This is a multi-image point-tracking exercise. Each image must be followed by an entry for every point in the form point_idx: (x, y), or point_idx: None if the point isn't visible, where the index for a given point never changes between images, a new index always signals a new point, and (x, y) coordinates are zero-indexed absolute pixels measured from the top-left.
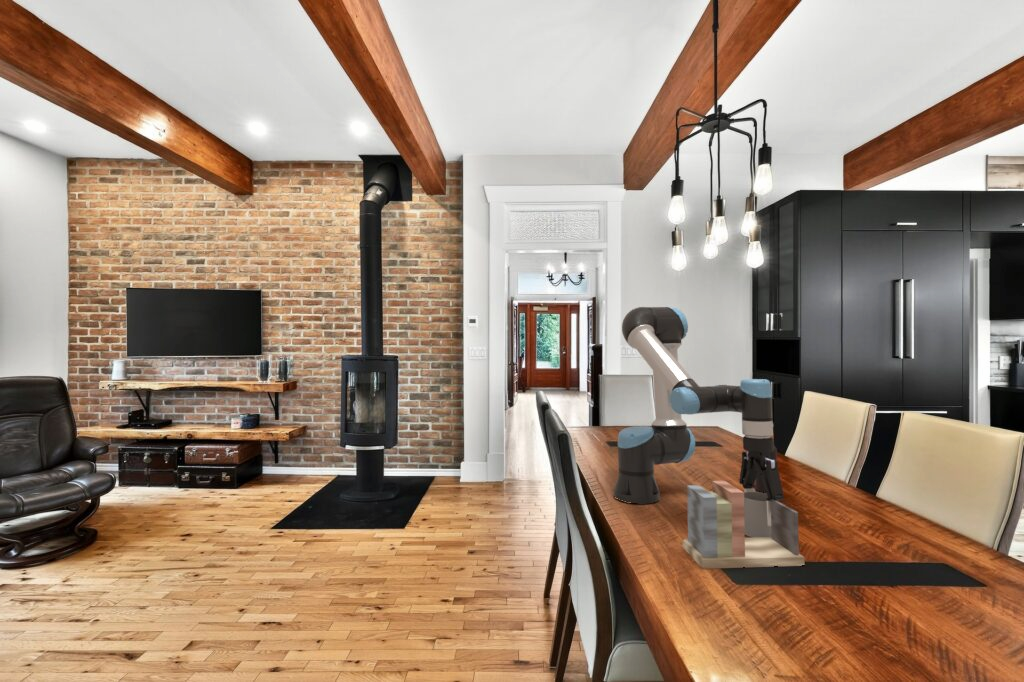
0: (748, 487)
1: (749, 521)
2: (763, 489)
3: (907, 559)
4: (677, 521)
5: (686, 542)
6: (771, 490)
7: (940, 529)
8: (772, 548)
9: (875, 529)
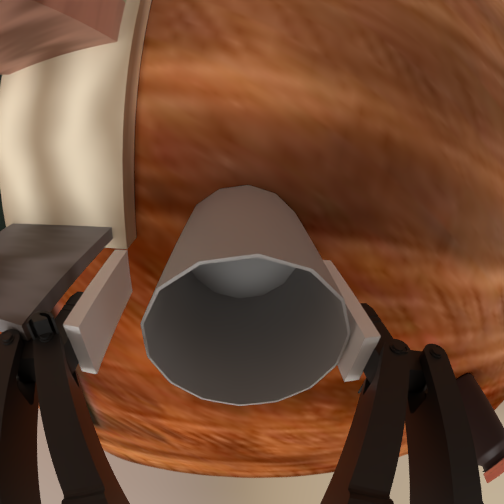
0: (372, 362)
1: (210, 208)
2: (458, 384)
3: (99, 408)
4: (409, 27)
5: None
6: (3, 371)
7: (220, 475)
8: (41, 182)
9: (230, 446)
